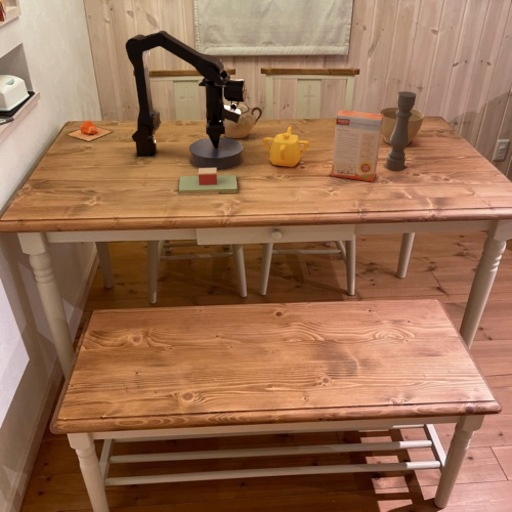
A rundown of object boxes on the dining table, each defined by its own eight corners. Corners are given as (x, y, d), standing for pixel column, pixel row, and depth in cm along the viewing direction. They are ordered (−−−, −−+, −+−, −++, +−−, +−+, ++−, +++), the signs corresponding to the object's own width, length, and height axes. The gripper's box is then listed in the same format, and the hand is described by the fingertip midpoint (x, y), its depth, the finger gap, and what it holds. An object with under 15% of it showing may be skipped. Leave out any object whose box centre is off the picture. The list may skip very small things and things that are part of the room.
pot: (191, 171, 173) (190, 159, 171) (192, 151, 188) (191, 139, 185) (242, 170, 175) (242, 158, 172) (240, 150, 189) (240, 138, 186)
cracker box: (375, 175, 172) (384, 113, 161) (372, 182, 168) (382, 119, 156) (334, 169, 176) (340, 108, 164) (330, 176, 171) (336, 114, 160)
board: (179, 194, 160) (178, 190, 159) (180, 180, 168) (180, 176, 167) (237, 192, 161) (237, 188, 160) (235, 178, 169) (235, 174, 168)
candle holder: (405, 165, 179) (418, 92, 165) (401, 172, 175) (415, 98, 161) (387, 162, 181) (399, 90, 167) (383, 168, 177) (395, 95, 163)
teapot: (258, 158, 183) (259, 130, 177) (289, 151, 189) (290, 123, 183) (279, 172, 173) (280, 143, 168) (310, 165, 179) (313, 136, 173)
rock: (89, 141, 195) (87, 130, 192) (66, 134, 200) (64, 124, 198) (112, 131, 203) (110, 121, 201) (90, 125, 208) (88, 115, 206)
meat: (199, 185, 162) (198, 173, 160) (199, 179, 165) (198, 168, 163) (217, 184, 162) (216, 173, 160) (216, 179, 165) (216, 167, 163)
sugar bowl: (210, 142, 195) (209, 103, 186) (211, 128, 207) (209, 90, 199) (262, 142, 196) (263, 102, 187) (260, 128, 208) (260, 90, 200)
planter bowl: (424, 139, 200) (429, 111, 194) (410, 152, 188) (416, 123, 182) (384, 130, 207) (388, 103, 201) (369, 143, 195) (373, 115, 189)
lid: (188, 161, 171) (187, 144, 167) (190, 140, 186) (188, 124, 182) (244, 160, 172) (244, 142, 169) (241, 139, 187) (241, 123, 184)
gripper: (240, 108, 162) (241, 155, 171) (237, 91, 177) (238, 134, 186) (204, 109, 161) (207, 156, 170) (205, 91, 177) (207, 135, 185)
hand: (216, 145), depth 178 cm, fingers open, 6 cm apart
